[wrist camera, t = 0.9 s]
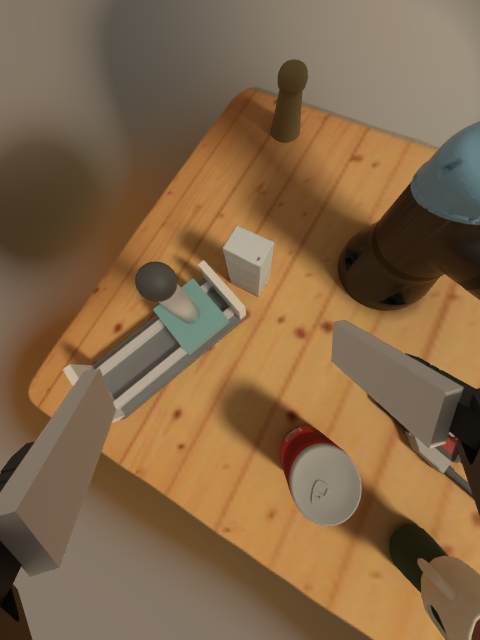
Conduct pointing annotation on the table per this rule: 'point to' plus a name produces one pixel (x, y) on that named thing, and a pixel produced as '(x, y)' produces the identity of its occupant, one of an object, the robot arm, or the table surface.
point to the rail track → (157, 352)
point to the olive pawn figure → (289, 100)
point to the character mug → (439, 583)
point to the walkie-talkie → (438, 456)
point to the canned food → (320, 476)
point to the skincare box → (248, 260)
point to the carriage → (180, 305)
